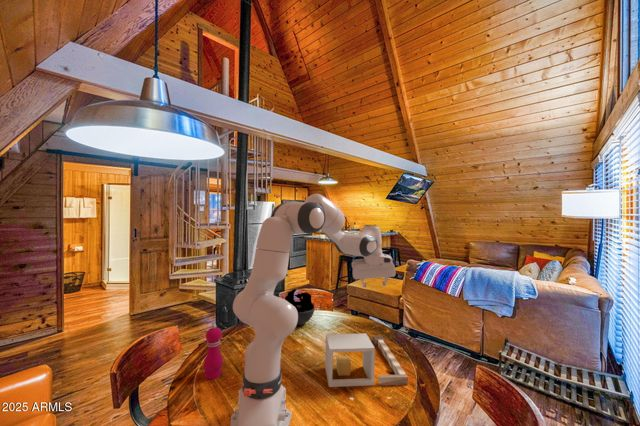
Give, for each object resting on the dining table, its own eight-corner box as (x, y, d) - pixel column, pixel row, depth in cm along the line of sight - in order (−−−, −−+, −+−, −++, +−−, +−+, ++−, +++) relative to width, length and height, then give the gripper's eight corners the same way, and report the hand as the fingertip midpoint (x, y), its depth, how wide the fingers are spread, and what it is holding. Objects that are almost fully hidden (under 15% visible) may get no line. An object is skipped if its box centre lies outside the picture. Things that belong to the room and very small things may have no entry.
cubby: (374, 385, 101) (374, 347, 102) (328, 387, 100) (329, 349, 100) (365, 366, 114) (366, 333, 114) (325, 367, 112) (325, 334, 112)
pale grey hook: (410, 384, 102) (410, 376, 102) (379, 385, 101) (380, 377, 101) (381, 341, 138) (381, 335, 138) (358, 341, 137) (358, 335, 137)
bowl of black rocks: (313, 331, 147) (314, 297, 147) (277, 330, 147) (278, 296, 147) (314, 317, 167) (315, 287, 167) (283, 316, 167) (283, 286, 167)
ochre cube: (350, 375, 108) (350, 362, 108) (338, 375, 107) (338, 363, 107) (348, 368, 113) (348, 356, 113) (336, 368, 112) (336, 356, 112)
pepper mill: (215, 381, 102) (217, 329, 102) (199, 378, 103) (200, 327, 103) (226, 370, 109) (227, 321, 109) (210, 368, 110) (211, 319, 110)
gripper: (352, 261, 124) (353, 290, 125) (395, 258, 124) (397, 287, 125) (350, 258, 130) (352, 285, 131) (392, 255, 130) (393, 282, 131)
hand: (374, 286), depth 128 cm, fingers open, 8 cm apart
